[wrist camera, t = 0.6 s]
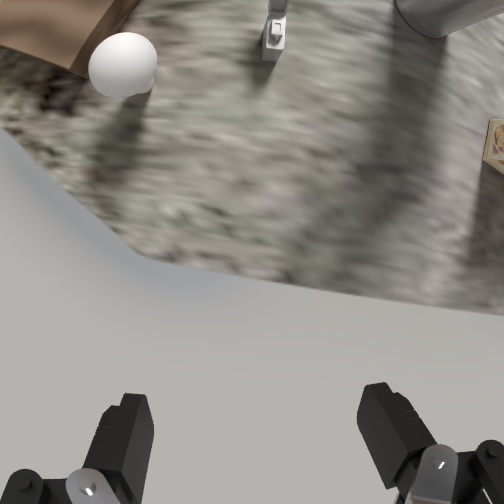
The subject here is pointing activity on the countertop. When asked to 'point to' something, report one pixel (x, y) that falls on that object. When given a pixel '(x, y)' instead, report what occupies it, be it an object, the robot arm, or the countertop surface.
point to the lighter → (274, 30)
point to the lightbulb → (123, 65)
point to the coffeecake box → (495, 145)
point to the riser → (61, 29)
